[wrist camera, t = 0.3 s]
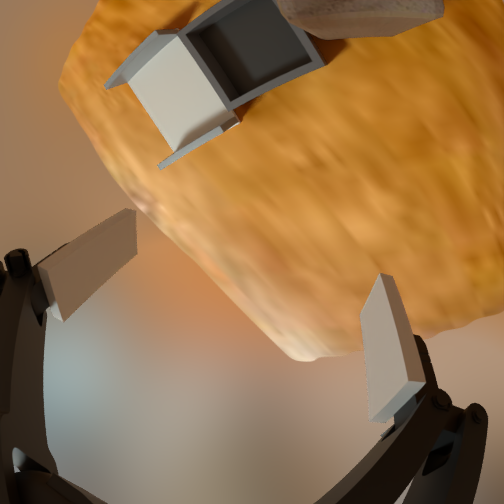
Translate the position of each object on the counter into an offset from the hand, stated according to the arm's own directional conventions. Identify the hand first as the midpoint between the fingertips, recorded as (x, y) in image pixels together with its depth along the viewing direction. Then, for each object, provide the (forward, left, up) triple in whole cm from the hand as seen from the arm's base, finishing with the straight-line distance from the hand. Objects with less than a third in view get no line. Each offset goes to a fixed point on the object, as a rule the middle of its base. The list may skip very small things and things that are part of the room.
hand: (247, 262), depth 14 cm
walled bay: (+16, -13, -27) cm, 34 cm away
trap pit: (+2, -13, -27) cm, 30 cm away
